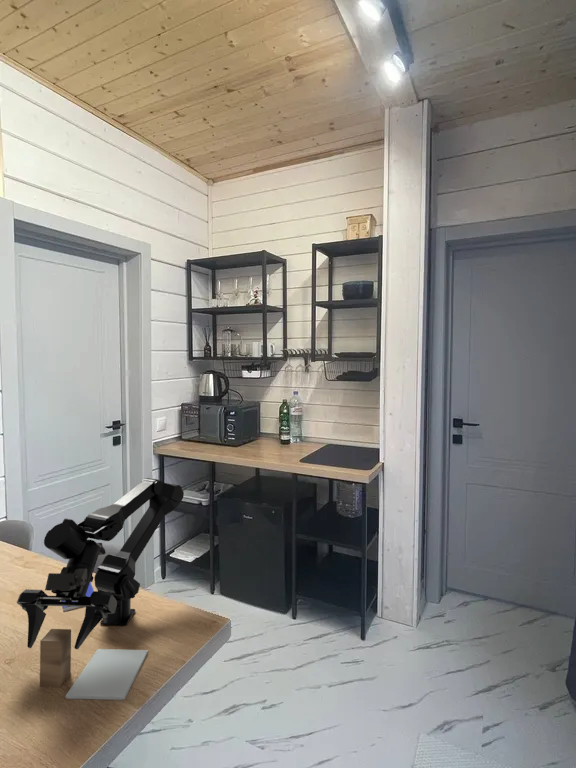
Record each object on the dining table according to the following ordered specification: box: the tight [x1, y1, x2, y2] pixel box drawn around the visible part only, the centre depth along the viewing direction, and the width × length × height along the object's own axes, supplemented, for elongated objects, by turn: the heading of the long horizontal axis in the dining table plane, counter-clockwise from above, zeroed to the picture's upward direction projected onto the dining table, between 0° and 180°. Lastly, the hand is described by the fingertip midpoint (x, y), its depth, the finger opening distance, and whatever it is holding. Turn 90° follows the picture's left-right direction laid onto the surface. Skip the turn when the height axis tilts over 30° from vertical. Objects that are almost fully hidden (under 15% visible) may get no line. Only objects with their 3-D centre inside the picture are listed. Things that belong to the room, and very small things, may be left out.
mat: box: [65, 648, 149, 701], centre depth 89 cm, size 14×11×1 cm
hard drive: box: [61, 582, 95, 612], centre depth 119 cm, size 2×8×12 cm
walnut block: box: [39, 628, 72, 688], centre depth 87 cm, size 4×4×9 cm
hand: (52, 648), depth 86 cm, fingers open, 9 cm apart
